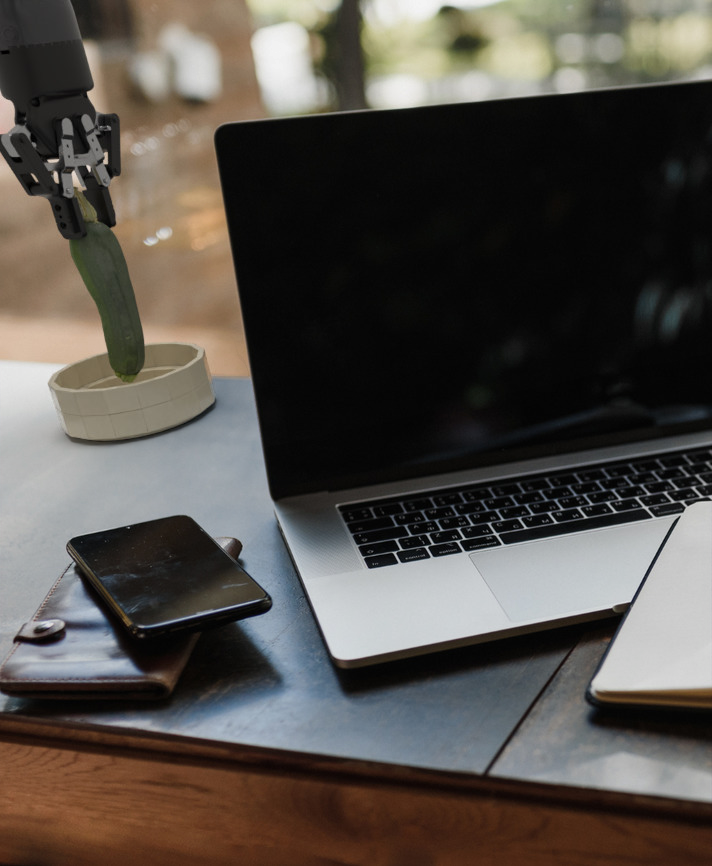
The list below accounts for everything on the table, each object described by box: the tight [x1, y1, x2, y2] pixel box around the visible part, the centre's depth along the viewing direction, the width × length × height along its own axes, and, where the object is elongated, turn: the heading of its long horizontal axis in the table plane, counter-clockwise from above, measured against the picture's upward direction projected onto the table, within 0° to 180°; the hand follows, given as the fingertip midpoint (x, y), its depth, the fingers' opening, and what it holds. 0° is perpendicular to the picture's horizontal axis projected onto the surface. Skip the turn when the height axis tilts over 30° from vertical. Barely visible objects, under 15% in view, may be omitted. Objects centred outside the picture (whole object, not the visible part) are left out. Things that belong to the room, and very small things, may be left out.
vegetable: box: [68, 185, 145, 383], centre depth 103 cm, size 4×4×20 cm
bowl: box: [47, 341, 217, 442], centre depth 108 cm, size 14×14×6 cm
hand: (90, 232), depth 101 cm, fingers closed on vegetable, 3 cm apart
